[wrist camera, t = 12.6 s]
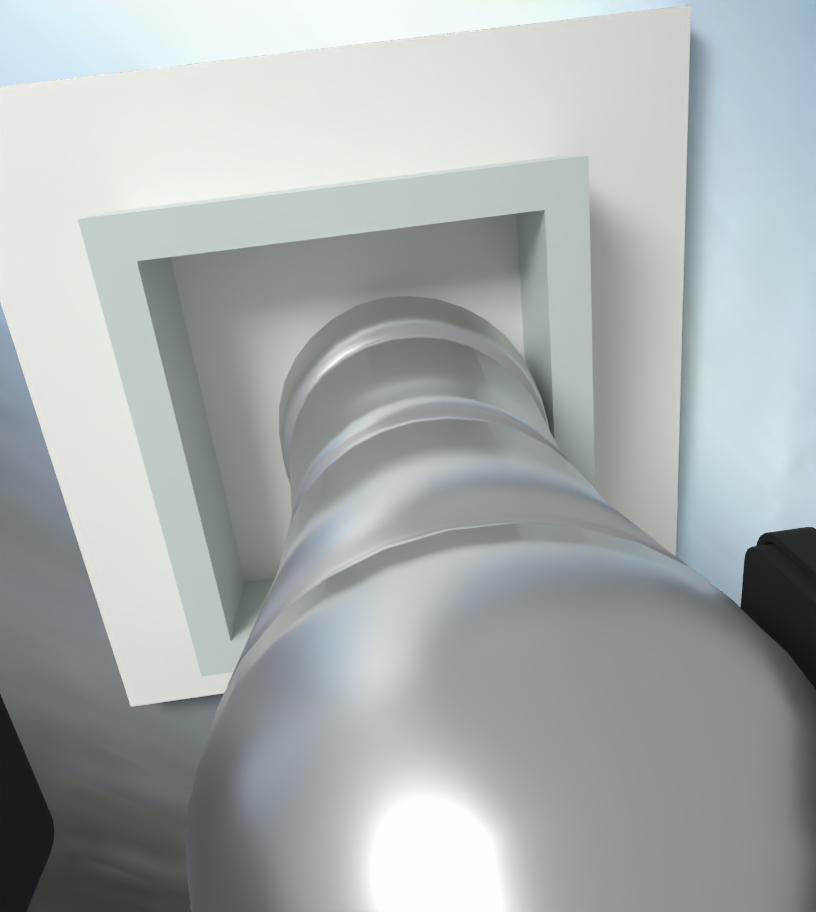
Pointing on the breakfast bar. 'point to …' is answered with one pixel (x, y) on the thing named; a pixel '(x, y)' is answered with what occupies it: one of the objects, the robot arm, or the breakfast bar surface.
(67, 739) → the breakfast bar surface
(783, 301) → the breakfast bar surface
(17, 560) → the breakfast bar surface
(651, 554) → the metal bottle
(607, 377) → the charging dock
